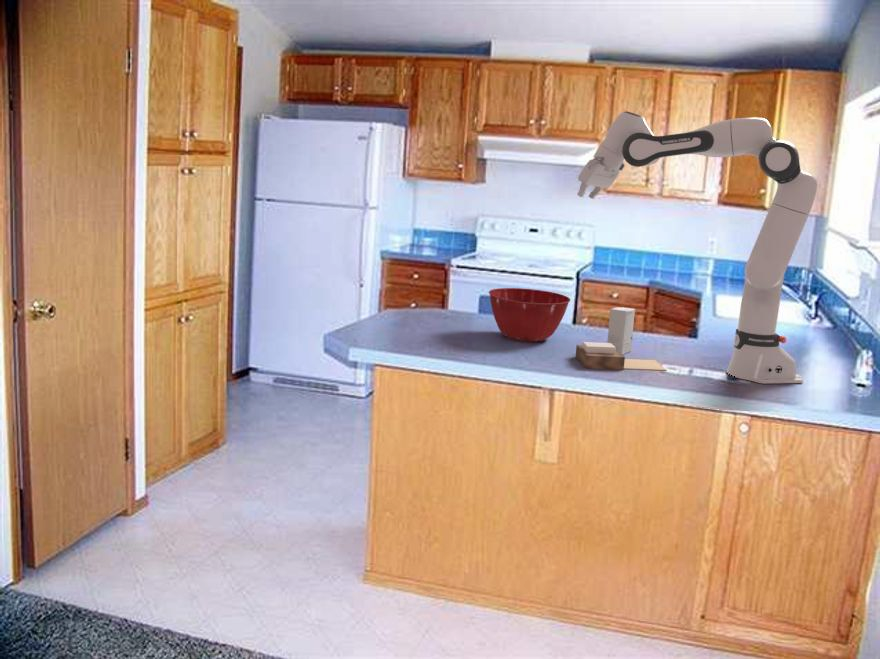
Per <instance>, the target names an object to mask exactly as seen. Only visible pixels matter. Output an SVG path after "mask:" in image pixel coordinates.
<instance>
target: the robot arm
mask: <svg viewBox="0 0 880 659" xmlns="http://www.w3.org/2000/svg"><path fill="white" fill-rule="evenodd" d="M645 119H646V118H645V117H644V116H642V115H639V114H637V113H634V112H632V111H631V112H630V111H626V110H625V111H623V112H621V113H619V114H618V115H617V117H616V118H615V119H614V121H613V123H612V124H611V126H610V127H609V129H608V131H607V132H606V136H605V138H604V139H603V141H601V142H600V144H599V146H598V148H597V149H596V151H595V153H594V154H593V156H592V157H593V158H592V159H589V161H588V162H586V164H585V165H584V167H583V168H582V170H581V172H580V173H579V175H578V176H577V177H578V178H577V180H578V181H579V182H581V183H580V185H579V186H580V187H579V190H578V192H577V196H578V197H581V198H584V197H585V195H586V191H587V189H589V188H588V187H589V186H592V187H594V188H593V190H591V191H590V193H589V194H588V198H589V199H592V200H594V199H596V197H597V195H598V194H600V192H601V191H603V189H609V188H610V187H611V186H612V185H613V183H614V182H615V180H617V177H618V176H619V175H620V172H622V171H623V170H624V168H625V166H626V164H625V162H626V163H627V164H629V165H631V166H632V167H637V168H640V167H645V166H646V167H647V166H651V165H654V164H656V163H657V162H659V160H660V158H665V157H666V158H667V157H674V156H682V155H696V156H697V155H698V156H703V157H708V158H732V157H733V158H734V157H738V156H748V155H749V156H753V157H756V158H757V159H758V164H759V168H760V170H761V172H762V173H763V174H764V175H765V176H767V177H768V178H771V179H772V180H774V181H775V183H777V184H776V185H777V188H776V192H775V195H774V197H773V199H772V202H771V204H770V206H769V208H768V211H767V213H766V215H765V218H764V221H763V224H762V226H761V228H760V231H759V233H758V236H757V238H756V241H755V243H754V245H753V247H752V250H751V253H750V255H749V257H748V259H747V262H746V264H745V267H744V276H745V278H744V283H743V290H742V291H743V292H742V295H741V296H742V298H741V304H740V307H739V308H740V309H739V310H740V311H739V316H738V323H737V328H736V329H735V333H734V341H733V347H734V349H733V351H732V356H731V359H730V362H729V365H728V367H727V369H726V371H725V372H727V373H728V374H727V375H729V374H730V375H729V376H731V375H732V376H731V377H734V376H735V377H734V378H737V379H741V380H746V381H750V382H755V383H758V384H765V385H766V384H798V383H799V384H803V382H804V380H803V377H802V376H801V375H799V374H797V365H796V361H795V359H794V358H793V357H792V356H791V355H790V354H789V353H788V352H787V351H786V350H784V349H783V347H782V346H780V343H782V344H786V343H787V341H788V340H787V337H786V336H783V335H779V334H777V332H776V330H777V326H778V325H777V324H778V316H779V312H780V311H779V310H780V309H779V308H780V302H781V296H782V290H783V283H784V277H785V274H786V271H787V269H788V266H789V263H790V260H791V259H792V256H793V254H794V251H795V250H796V246H797V244H798V242H799V239H800V237H801V234H802V232H803V231H804V230H803V229H804V227H805V226H806V223H807V220H808V218H809V215H810V214H811V210H812V208H813V205H814V202H815V199H816V194H817V191H818V182H817V179H816V178H815V177H814V176H813V175H812V174H811V173H809V172H805V171H803V170H802V169H801V164H800V153H799V150H798V149H797V147H796V146H795V145H794V144H793V143H792V142H790V141H787V140H783V139H778V138H775V137H774V135H773V128H772V125H771V123H770V122H769V121H768V120H767V119H766V118H763V117H739V118H730V119H726V120H725V119H724V120H720V121H716V122H713V123H710V124H708V125H705V126H702V127H700V128H696V129H693V130H690V131H687V132H681V133H674V134H666V135H654V133H653V131H652V130H651V129H650V127H649V126H648V124H647V122H646V120H645ZM624 160H625V162H624Z"/></svg>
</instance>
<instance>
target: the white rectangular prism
mask: <svg viewBox="0 0 880 659" xmlns="http://www.w3.org/2000/svg"><path fill="white" fill-rule="evenodd" d="M582 345H583V347H582V348H583V349H584V350H585V351H586V352H587V353H609V354H615V351H616V347H615V346H613V345H612V344H611V343H607V342H593V341H591V342H590V341H583V342H582Z"/></svg>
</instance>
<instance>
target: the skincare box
mask: <svg viewBox="0 0 880 659" xmlns="http://www.w3.org/2000/svg"><path fill="white" fill-rule="evenodd" d="M635 312H636V309H635V308H629V307H623V306H622V307H621V306H618V307H613V308H610V311H609V320H608V331H607V332H608V333H607V341H606V343H611V344H612V345H613V346H615V347H616V350H617V351H619V352H620V353H621V354H622V355H623V356H624V355H625V354H628V353H630V352H631V351H632V346H633V334H634V325H635V324H634V323H635V316H636V315H635V314H636V313H635Z"/></svg>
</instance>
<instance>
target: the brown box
mask: <svg viewBox="0 0 880 659" xmlns="http://www.w3.org/2000/svg"><path fill="white" fill-rule="evenodd" d="M582 347H583V344H576V347H575V358H576V359H577V360H578V362H579V363H580V364H581V365H582V366H583V367H584V368H585V369H594V370H596V369H597V370H598V369H601V370H619V371H621V370H623V371H624V370H625V369H624V361H625V359H626V357H625V356H624V354H623V355H622V354H621V353H620V352H619V351H617V350H616V351H615V354H609V353H587V352H586V351H585V350H584V349H583V348H582Z"/></svg>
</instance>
